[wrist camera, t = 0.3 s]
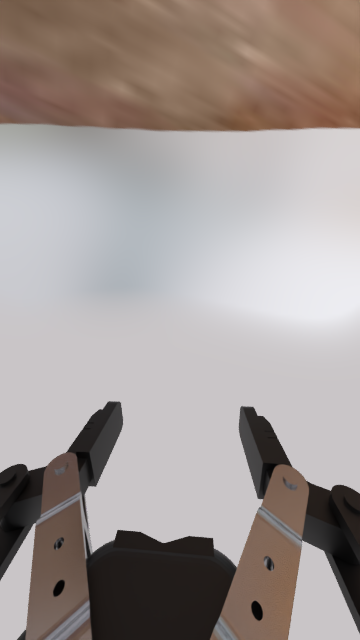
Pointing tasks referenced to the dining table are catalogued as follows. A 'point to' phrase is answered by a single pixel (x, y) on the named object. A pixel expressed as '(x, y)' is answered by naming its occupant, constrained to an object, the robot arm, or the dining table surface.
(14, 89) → the dining table surface
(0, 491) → the robot arm
